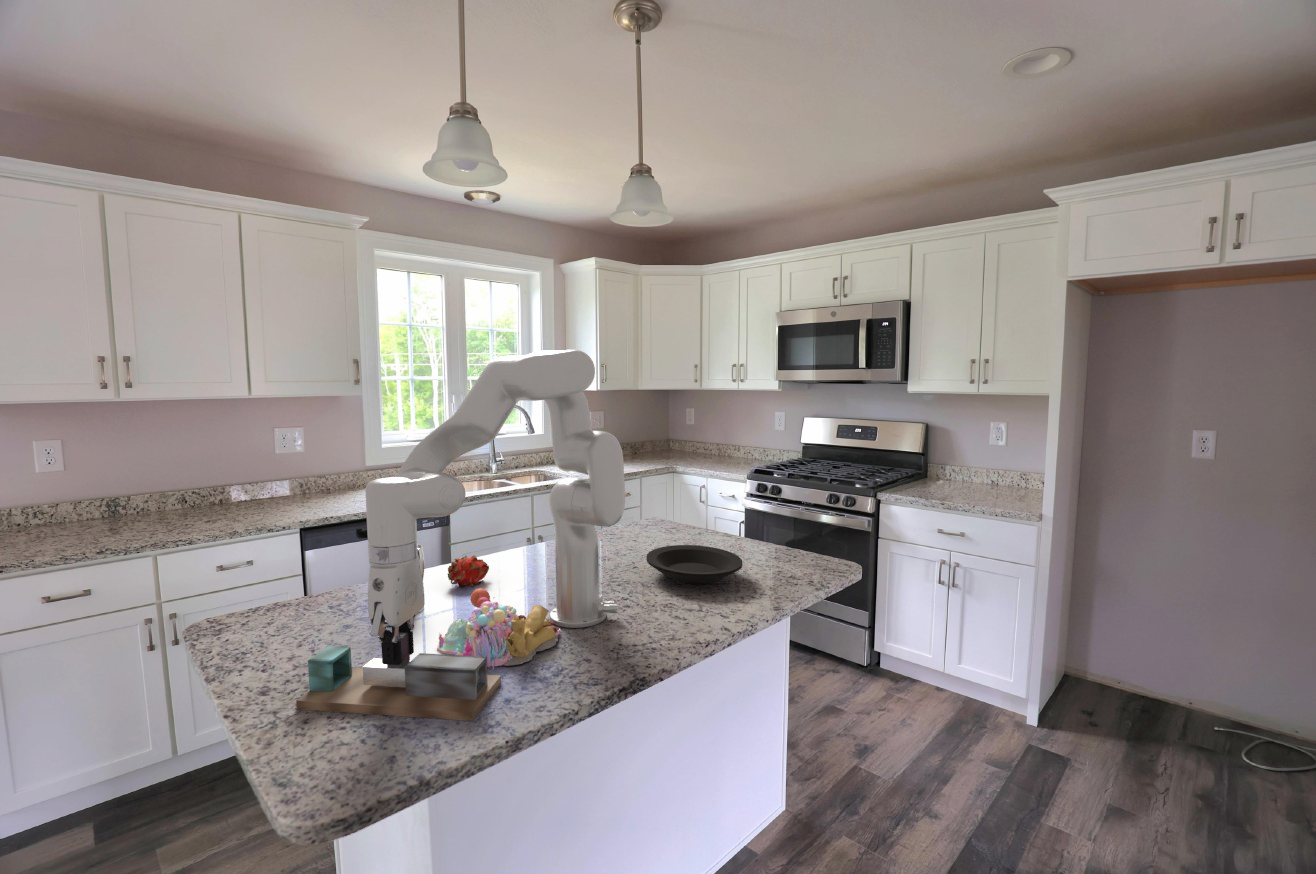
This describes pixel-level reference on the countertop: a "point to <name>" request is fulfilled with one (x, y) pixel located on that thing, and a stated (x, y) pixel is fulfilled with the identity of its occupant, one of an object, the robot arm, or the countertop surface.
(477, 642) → the candy landscape model
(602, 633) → the countertop surface
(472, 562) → the dragon fruit
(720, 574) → the plate
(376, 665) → the inner tube
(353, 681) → the tube rig
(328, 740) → the countertop surface
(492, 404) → the robot arm
